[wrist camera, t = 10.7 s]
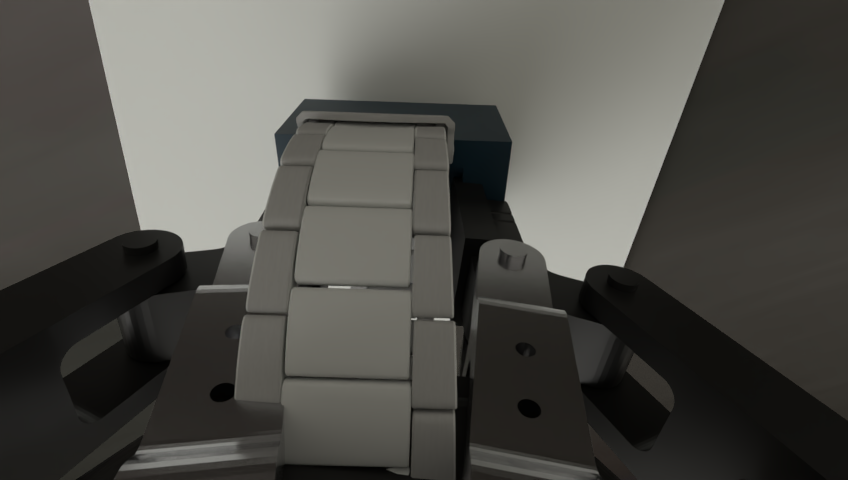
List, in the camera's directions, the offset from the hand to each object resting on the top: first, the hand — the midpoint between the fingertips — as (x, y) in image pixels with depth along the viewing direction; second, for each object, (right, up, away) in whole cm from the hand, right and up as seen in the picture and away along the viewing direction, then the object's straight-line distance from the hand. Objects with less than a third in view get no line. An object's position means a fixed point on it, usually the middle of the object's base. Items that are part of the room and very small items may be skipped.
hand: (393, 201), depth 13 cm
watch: (0, +1, +2) cm, 3 cm away
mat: (0, +2, +4) cm, 4 cm away
